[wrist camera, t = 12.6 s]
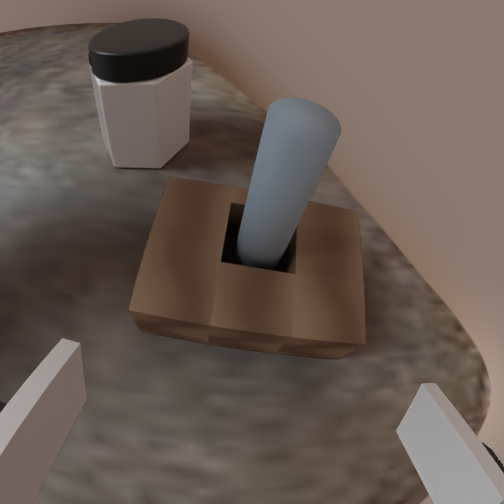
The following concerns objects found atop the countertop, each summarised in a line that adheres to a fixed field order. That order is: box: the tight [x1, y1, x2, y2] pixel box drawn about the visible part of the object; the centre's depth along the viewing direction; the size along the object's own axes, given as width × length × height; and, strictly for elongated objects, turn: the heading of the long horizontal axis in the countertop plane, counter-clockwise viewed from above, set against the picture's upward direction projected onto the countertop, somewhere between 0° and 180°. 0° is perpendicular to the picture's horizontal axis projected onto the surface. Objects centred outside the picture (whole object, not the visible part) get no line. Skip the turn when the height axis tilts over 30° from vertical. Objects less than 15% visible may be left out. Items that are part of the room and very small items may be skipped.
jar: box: [88, 19, 193, 168], centre depth 25 cm, size 9×8×12 cm
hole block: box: [128, 177, 366, 359], centre depth 22 cm, size 14×10×4 cm
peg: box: [232, 98, 341, 271], centre depth 19 cm, size 3×3×14 cm
